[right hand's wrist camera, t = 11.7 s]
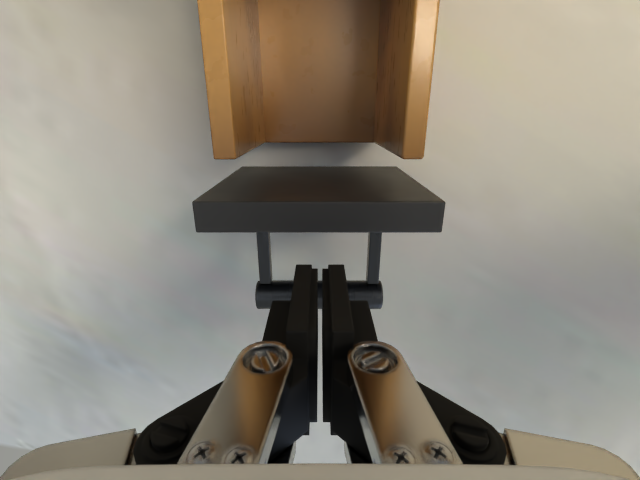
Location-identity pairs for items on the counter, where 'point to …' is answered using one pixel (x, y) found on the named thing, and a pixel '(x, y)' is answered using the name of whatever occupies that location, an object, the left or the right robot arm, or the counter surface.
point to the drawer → (318, 121)
